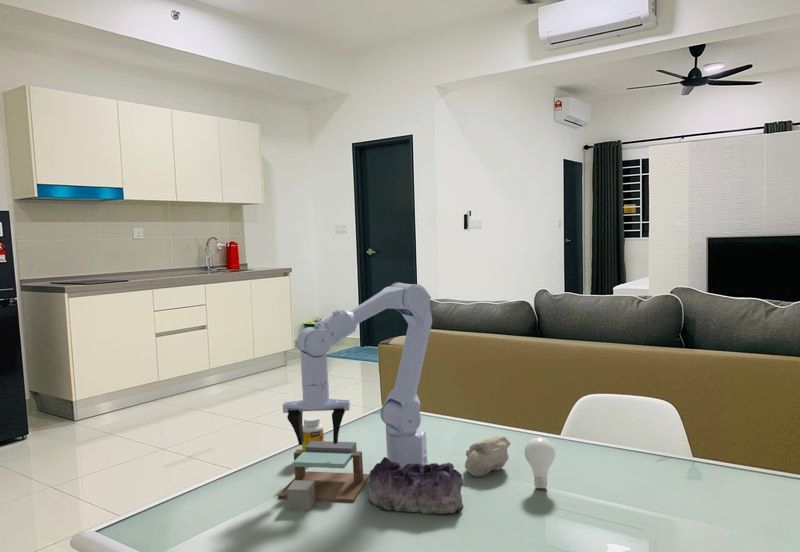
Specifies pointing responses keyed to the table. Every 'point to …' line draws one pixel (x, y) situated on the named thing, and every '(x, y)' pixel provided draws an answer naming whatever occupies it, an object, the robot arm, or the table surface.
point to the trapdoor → (326, 454)
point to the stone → (301, 495)
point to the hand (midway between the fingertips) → (318, 442)
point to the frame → (333, 481)
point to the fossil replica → (487, 456)
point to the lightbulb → (540, 459)
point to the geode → (416, 487)
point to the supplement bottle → (312, 430)
